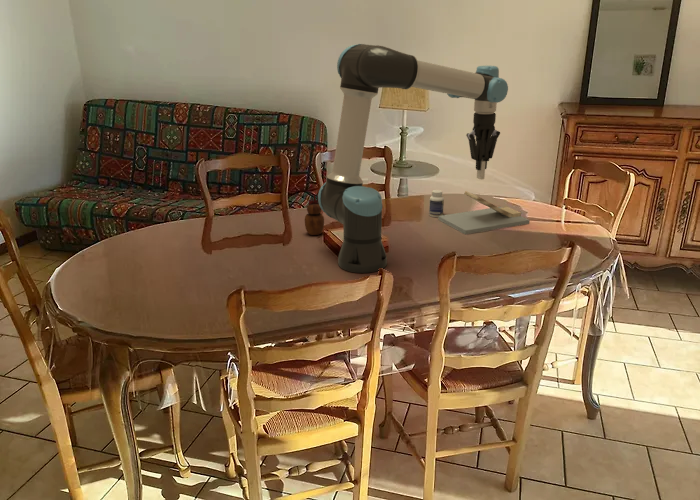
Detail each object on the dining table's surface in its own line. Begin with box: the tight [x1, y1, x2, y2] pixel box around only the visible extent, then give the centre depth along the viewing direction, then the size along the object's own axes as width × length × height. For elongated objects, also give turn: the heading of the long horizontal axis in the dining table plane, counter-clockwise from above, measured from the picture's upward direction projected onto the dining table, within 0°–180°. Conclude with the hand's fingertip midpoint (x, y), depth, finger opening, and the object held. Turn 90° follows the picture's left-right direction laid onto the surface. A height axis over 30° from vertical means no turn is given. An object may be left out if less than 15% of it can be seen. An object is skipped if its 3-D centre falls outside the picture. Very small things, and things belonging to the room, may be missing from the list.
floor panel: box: [437, 206, 530, 235], centre depth 220 cm, size 28×18×3 cm, turn 113°
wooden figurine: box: [304, 194, 325, 236], centre depth 207 cm, size 7×6×15 cm
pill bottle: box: [428, 189, 445, 218], centre depth 226 cm, size 5×5×10 cm
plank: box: [464, 190, 511, 217], centre depth 219 cm, size 18×8×1 cm, turn 116°
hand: (480, 178), depth 213 cm, fingers closed
